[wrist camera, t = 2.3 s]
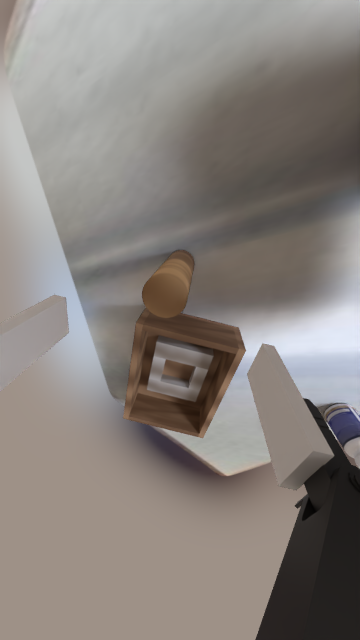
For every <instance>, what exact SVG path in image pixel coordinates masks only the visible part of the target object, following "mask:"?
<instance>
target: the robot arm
mask: <svg viewBox="0 0 360 640" xmlns="http://www.w3.org/2000/svg"><path fill="white" fill-rule="evenodd" d="M68 333H69V328H68V317H67V305H66V298H65V297H61V296H57V295H53V296H51V297H49V298H47V299H46V300H44V301H42V302H40V303H38V304H36V305H34V306H32V307H30V308H28V309H26V310H24V311H22V312H20V313H18V314H17V315H15V316H13V317H11V318H9V319H7V320H5V321H3V322H1V323H0V391H1V390H2V389H4V388H5V387H6V386H7V385H8V384H9V383H10V382H12V381H13V380H14V379H15V378H16V377H18V376H19V375H20V374H21V373H22V372H23V371H24V370H26V369H27V368H28V367H29V366H30V365H32V364H33V363H34V362H35V361H36V360H37V359H39V358H40V357H41V356H42V355H43V354H44V353H45V352H47V351H48V350H49V349H50V348H51V347H53V346H54V345H55V344H56V343H57V342H58V341H60V340H61V339H62V338H63V337H64V336H66V335H67V334H68ZM247 375H248V379H249V382H250V386H251V390H252V393H253V397H254V400H255V404H256V407H257V411H258V415H259V418H260V422H261V425H262V429H263V432H264V436H265V439H266V443H267V447H268V450H269V454H270V457H271V461H272V464H273V468H274V471H275V475H276V479H277V482H278V486H280V487H284V488H288V489H293V490H297V489H298V488H300V487H301V486H302V485H303V484H304V485H305V487H306V490H307V493H308V494H307V495H306V496H304V497H303V498H302V499H301V500H300V501H298V502H297V504H296V505H295V507H296V508H299V507H300V506H301V509H300V511H299V514H298V517H297V520H296V523H295V526H294V528H293V532H292V534H291V537H290V540H289V543H288V546H287V549H286V552H285V555H284V558H283V561H282V564H281V567H280V570H279V573H278V575H277V578H276V581H275V584H274V587H273V590H272V593H271V596H270V599H269V602H268V605H267V608H266V610H265V613H264V616H263V619H262V622H261V625H260V628H259V631H258V634H257V637H256V640H360V469H359V468H357V467H356V466H353V465H351V463H350V462H349V460H348V459H347V457H346V455H345V454H344V452H343V450H342V449H341V447H340V446H339V444H338V442H337V440H336V439H335V437H334V435H333V434H332V432H331V430H329V427H328V425H327V424H326V422H325V421H324V419H323V417H322V415H321V413H320V412H319V410H318V409H317V408H316V407H315V406H314V404H313V403H312V402H311V401H310V400H309V399H305V398H302V396H301V394H300V392H299V390H298V389H297V387H296V385H295V383H294V381H293V380H292V378H291V376H290V374H289V372H288V370H287V369H286V367H285V365H284V363H283V361H282V360H281V358H280V356H279V354H278V352H277V351H276V349H275V347H274V346H272V345H267V344H262V346H261V348H260V350H259V352H258V353H257V355H256V357H255V359H254V361H253V363H252V365H251V367H250V369H249V371H248V373H247Z"/></svg>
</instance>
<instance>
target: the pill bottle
mask: <svg viewBox="0 0 360 640" xmlns="http://www.w3.org/2000/svg"><path fill="white" fill-rule="evenodd" d="M324 417H325V419H326V421H327V422H328V424H329V426H330V427H331V429H332V431H333V432H334V434H335V436H336V437H337V439H338V440H339V442H340V444H341V445H342V447H343V449H344V450H345V452H346V453H347V454H348V455H349V456H351V457H352V458H355V463H356V464H357V466H358V467H359V469H360V414H359V413H358V411H357V410H356V409H355V408H354V407H353V406H351V405H348V404H336V405H333V406H331V407H329V408H328V409H327V410H326V411H325V413H324Z"/></svg>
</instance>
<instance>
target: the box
mask: <svg viewBox="0 0 360 640" xmlns="http://www.w3.org/2000/svg"><path fill="white" fill-rule="evenodd" d="M245 351H246V349H245V346H244V343H243V340H242V337H241V333H240V330H239V328H238V327H234V326H230V325H226V324H222V323H218V322H214V321H210V320H206V319H202V318H198V317H195V316H191V315H187V314H183V313H180V314H178V315H176V316H174V317H170V318H163V317H159V316H156V315H154V314H153V313H151V312H150V311H149V310H148V309H147V308H145V310H144V311H143V313H142V314H141V316H140V317H139V319H138V321H137V322H136V327H135V334H134V342H133V349H132V357H131V364H130V372H129V379H128V387H127V394H126V402H125V409H124V416H123V418H124V419H128V420H132V421H136V422H140V423H144V424H148V425H152V426H156V427H160V428H164V429H168V430H172V431H176V432H180V433H184V434H188V435H192V436H196V437H200V438H203V437H204V435H205V433H206V431H207V429H208V427H209V425H210V423H211V421H212V419H213V417H214V415H215V412H216V410H217V408H218V406H219V404H220V402H221V400H222V398H223V396H224V394H225V392H226V390H227V388H228V386H229V384H230V382H231V380H232V378H233V376H234V374H235V372H236V370H237V368H238V366H239V364H240V362H241V360H242V357H243V355H244V353H245Z"/></svg>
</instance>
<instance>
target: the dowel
mask: <svg viewBox="0 0 360 640" xmlns="http://www.w3.org/2000/svg"><path fill="white" fill-rule="evenodd" d="M193 269H194V259H193V257H192V255H191V254H190V253H189V252H187V251H184V250H178V251H175V252H173V253H172V254H171V255H170V256H169V258H168V259H167V260H166V261H165V262H164V263H163V264H162V265H161V266H160V268H159V269H158V270H157V271H156V272H155V273H154V274H153V275H152V277H151V278H150V279H149V280H148V281H147V282H146V284H145V285H144V287H143V291H142V298H143V302H144V304H145V306H146V308H147V309H148V310H149V311H150V312H151V313H153V314H154V315H156V316H159V317H163V318H170V317H174V316H176V315H178V314H180V313H181V312H182V311H183V309H184V308H185V306H186V303H187V299H188V294H189V289H190V284H191V279H192V274H193Z"/></svg>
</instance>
